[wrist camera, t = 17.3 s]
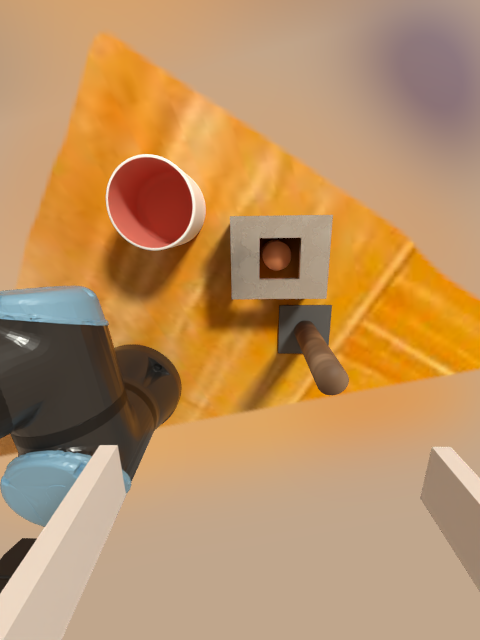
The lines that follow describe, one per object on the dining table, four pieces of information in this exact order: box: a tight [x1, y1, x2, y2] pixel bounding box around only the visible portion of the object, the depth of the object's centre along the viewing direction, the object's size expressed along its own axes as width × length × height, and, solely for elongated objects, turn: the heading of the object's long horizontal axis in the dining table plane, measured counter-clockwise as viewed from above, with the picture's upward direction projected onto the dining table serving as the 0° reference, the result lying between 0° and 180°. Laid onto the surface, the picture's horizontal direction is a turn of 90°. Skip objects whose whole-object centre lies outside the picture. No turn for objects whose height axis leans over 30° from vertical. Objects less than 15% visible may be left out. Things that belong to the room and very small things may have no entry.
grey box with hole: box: [230, 215, 333, 299], centre depth 40 cm, size 12×10×8 cm
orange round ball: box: [261, 240, 291, 270], centre depth 42 cm, size 4×4×4 cm
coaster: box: [278, 305, 332, 353], centre depth 47 cm, size 8×8×1 cm
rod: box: [294, 320, 349, 395], centre depth 39 cm, size 3×3×16 cm
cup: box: [106, 154, 206, 251], centre depth 37 cm, size 10×10×10 cm
